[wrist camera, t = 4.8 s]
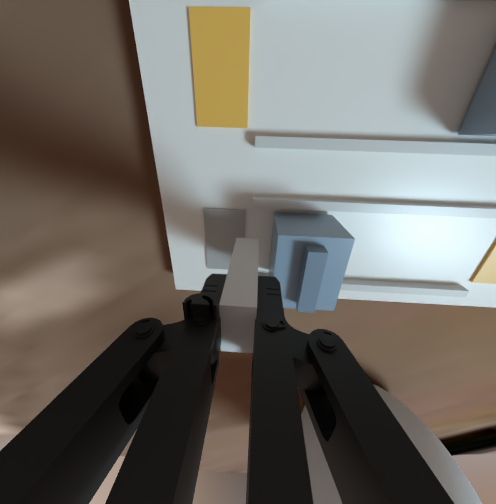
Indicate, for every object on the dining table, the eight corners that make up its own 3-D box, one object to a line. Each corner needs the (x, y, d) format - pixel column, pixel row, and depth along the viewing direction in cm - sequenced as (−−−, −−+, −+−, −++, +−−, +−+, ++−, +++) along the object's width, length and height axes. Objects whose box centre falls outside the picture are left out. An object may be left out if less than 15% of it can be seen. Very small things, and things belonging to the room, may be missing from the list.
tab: (268, 272, 17) (271, 316, 13) (274, 212, 15) (279, 241, 10) (318, 275, 17) (337, 320, 13) (332, 214, 15) (361, 245, 10)
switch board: (183, 276, 20) (172, 295, 18) (139, -40, 11) (105, -91, 9) (503, 293, 20) (538, 316, 17) (752, -35, 10) (912, -91, 8)
